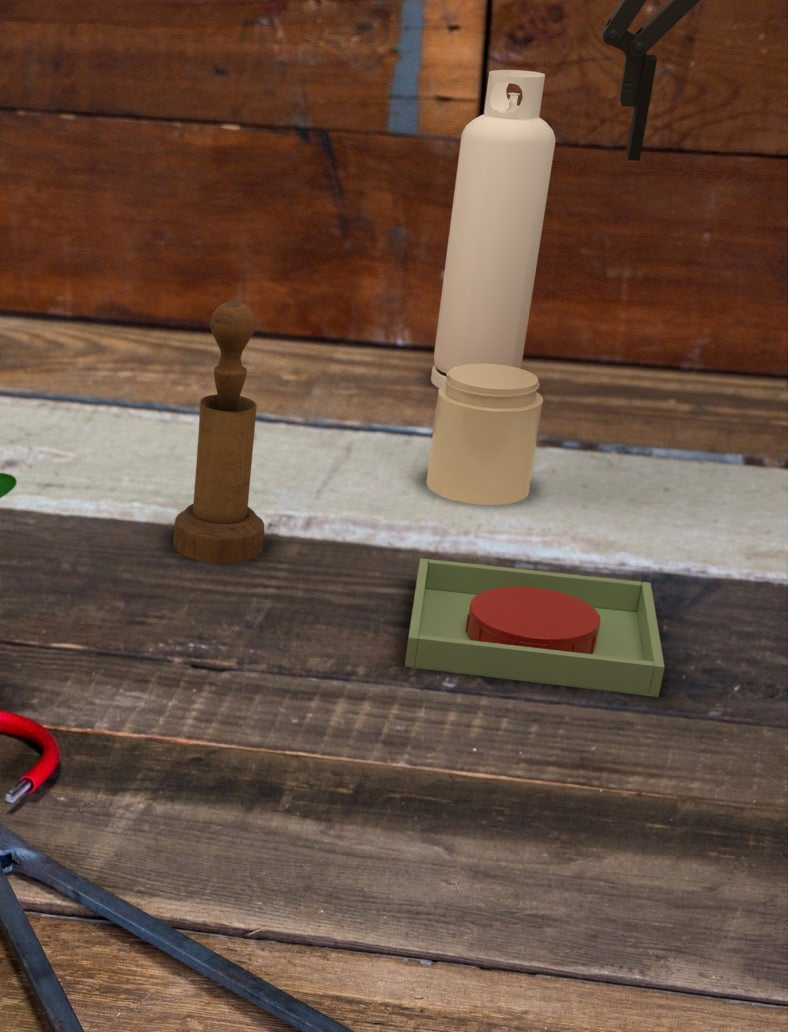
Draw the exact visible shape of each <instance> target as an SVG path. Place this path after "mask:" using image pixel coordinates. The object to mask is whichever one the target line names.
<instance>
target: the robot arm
mask: <svg viewBox="0 0 788 1032" xmlns="http://www.w3.org/2000/svg"><path fill="white" fill-rule="evenodd" d="M700 1H701V0H667V1H666V2H665V3H664V4H663V5H662V6H661V7H660V8H659V9H658V10H657V11H656V12H655V13H654V14H653V15H652V16H651V17H649V18H648V20H646V22H644V23H643V25H641V26H640V28H638V29H637V30H636V31H635V32H634V31H632V30H630V29H629V28H630V26H631V25H632V23H633V22H634V20H635V19H636V17H637V16H638V14H639V13H640V11H641V10H642V8H643V7H644V5H645V4H646V2H647V0H620V1H619V3H618V4H617V6H616V7H615V9H614V10H613V12H612V14H611V15H610V17H609V18H608V19H607V21H606V23H605V25H604V26H603V28H602V29H601V37H602V39H603V42H604V43H605V44H606V45H608V46H611V47H612V48H616V49H618V50H620V51H621V52H623V54H624V65H623V71H622V76H621V81H620V82H621V83H620V89H619V94H618V97H619V102H620V105H621V107H630V108H633V111H632V118H631V123H630V128H629V135H628V141H627V146H626V152H625V153H626V154H625V155H626V157H627V161H637V162H638V161H640V160H641V155H642V148H643V144H644V137H645V131H646V128H647V127H646V126H647V122H648V121H647V120H648V115H649V110H650V109H649V108H650V103H651V98H652V92H653V86H654V81H655V74H656V69H657V64H658V63H657V62H658V59H657V57H656V55H655V54H647V52H649V51H650V49H651V48H653V47H654V46H655V45H656V44H657V43H658V42H659V41H660V40H661V39H662V38H663V37H664V36H665V35H666V34H667V33H668V32H669V31H670V30H672V28H673V27H675V25H676V24H677V23H679V21H681V20H682V19H683V18H684V17H685V16H686V15H687V14H688V13H689V12H690V11H691V10H692V9H693V8H694V7H695V6H696V5H697V4H698V3H699V2H700Z"/></svg>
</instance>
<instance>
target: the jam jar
mask: <svg viewBox="0 0 788 1032" xmlns="http://www.w3.org/2000/svg"><path fill="white" fill-rule="evenodd" d="M445 376H446V377H447V378H446V384H445V385H443V386H441V387H440V388H438V390H437V394H436V395H437V396H436V401H435V402H436V403H435V410H434V411H435V412H434V419H433V427H432V433H431V441H430V442H431V443H430V450H429V459H428V466H427V474H426V481H425V482H426V486H427V488H428V489H429V490H430V491H431V492H433V493H435V495H438V496H439V497H443V498H445V499H448V500H451V501H455V502H460V503H464V504H472V505H480V506H482V505H483V506H500V505H501V506H502V505H510V504H515V503H518V502H520V501H522V500H524V499H526V498H527V497H528V496H529V493H530V488H531V481H532V476H533V469H534V463H535V456H536V449H537V444H538V436H539V430H540V426H541V425H540V424H541V417H542V412H543V406H544V405H543V404H544V398H543V396H542V394H540V393H539V392H537V391H538V390H539V389H540V381H539V378H538V376H537V375H536V374H534V373H533V372H530V371H528V370H526V369H523V368H516V367H511V366H506V365H498V364H465V365H460V366H456V367H454V368H452V369H450V370H449V371H448V372H447V374H445Z"/></svg>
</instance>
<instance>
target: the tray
mask: <svg viewBox="0 0 788 1032" xmlns="http://www.w3.org/2000/svg"><path fill="white" fill-rule="evenodd" d="M417 568H418V570H417V578H416V582H415V588H414V598H413V604H412V609H411V615H410V617H411V618H410V624H409V631H408V637H407V645H406V652H405V653H406V654H405V659H404V660H405V661H404V667H406V668H412V669H413V668H414V669H420V670H421V669H423V670H429V671H438V672H448V673H454V674H464V675H473V676H481V677H489V678H497V679H506V680H513V681H523V682H531V683H539V684H548V685H556V686H563V687H564V686H565V687H572V688H582V689H588V690H589V689H590V690H599V691H607V692H615V693H622V694H623V693H624V694H633V695H640V696H649V697H657V698H658V697H659V695H660V692H661V687H662V682H663V677H664V674H665V668H666V665H665V661H664V655H663V649H662V643H661V636H660V631H659V625H658V624H659V623H658V617H657V612H656V607H655V600H654V594H653V589H652V583H651V582H648V581H647V582H646V581H636V580H628V579H618V578H609V577H599V576H592V575H591V576H590V575H580V574H572V573H561V572H554V571H553V572H552V571H544V570H536V569H535V570H534V569H525V568H516V567H505V566H497V565H486V564H479V563H478V564H477V563H467V562H460V561H450V560H449V561H448V560H441V559H431V558H429V559H428V558H421V557H420V559H419V561H418V567H417ZM515 586H520V587H535V588H543V589H548V590H553V591H557V592H561V593H564V594H568V595H570V596H573V597H576V598H578V599H580V600H582V601H584V602H586V603H587V604H589V605H590V606H592V607H593V608H594V609H595V610H596V611H597V612H598V614H599V616H600V619H601V621H600V628H599V633H598V638H597V644H596V648H595V650H594V652H593V653H592V654H584V653H575V652H567V651H558V650H549V649H541V648H532V647H523V646H515V645H506V644H497V643H488V642H480V641H471V640H470V638H469V637H468V635H467V631H465V630H466V623H467V616H468V614H469V607H470V602H471V600H472V599H473V598H474V597H475V596H476V595H478V594H479V593H481V592H484V591H487V590H490V589H494V588H501V587H515Z"/></svg>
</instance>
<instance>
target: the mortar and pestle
mask: <svg viewBox="0 0 788 1032" xmlns="http://www.w3.org/2000/svg"><path fill="white" fill-rule="evenodd" d="M255 330H256V317H255V314H254V312H253V310H252V309H251V307H250V306H249V305H247V304H246V303H244V302H241V301H226V302H224V303H222V304H220V305H218V307H216V308H215V310H214V312H213V313H212V316H211V319H210V331H211V333H212V336H213V339H214V341H215V342H216V344H217V346H218V348H219V351H220V358H219V362H218V364H217V365H215V366H214V368H213V378H214V383H215V384H214V385H215V389H216V393H217V394H209V395H205V396H203V397H202V398H200V401H199V416H198V417H199V418H198V433H197V435H198V436H197V451H196V463H195V464H196V465H195V476H194V488H193V489H194V492H193V502H192V504H190V505H188V506H187V507H186V508H184V509H183V510H182V511H180V512H179V513H178V514H177V515H176V516H175V519H174V528H173V529H174V530H173V541H172V546H173V548H174V549H175V550H176V551H177V553H179V554H181V555H183V556H184V557H187V558H190V559H191V560H192V559H193V560H195V561H200V562H206V563H214V564H215V563H216V564H231V563H241V562H245V561H248V560H251V559H253V558H255V557H257V556H258V555H260V554H261V553H262V552H263V550H264V539H265V523H264V520H263V519H262V518H261V517H260V516H258V515H257V514H256V512H255V511H254V510H253V509H252V508H251V507H249V497H250V487H251V486H250V485H251V473H252V463H253V453H254V452H253V451H254V441H255V431H256V419H257V408H258V405H257V403H256V402H255V401H254V400H252V399H251V398H248V397H246V396H242V395H241V394H242V391H243V388H244V385H245V382H246V379H247V375H248V374H247V373H248V369H247V368H246V367H245V366H243V364H242V355H243V352H244V350H245V348H246V347H247V345H248V343H249V342H250V340H251V339H252V337H253V335H254V333H255Z"/></svg>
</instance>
